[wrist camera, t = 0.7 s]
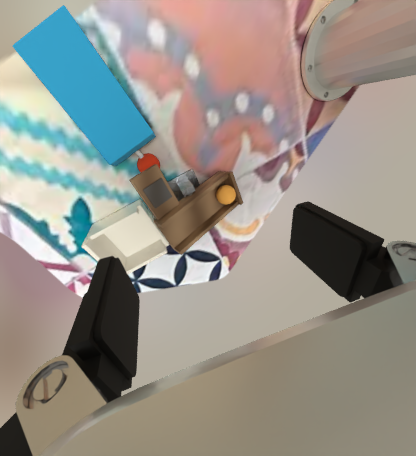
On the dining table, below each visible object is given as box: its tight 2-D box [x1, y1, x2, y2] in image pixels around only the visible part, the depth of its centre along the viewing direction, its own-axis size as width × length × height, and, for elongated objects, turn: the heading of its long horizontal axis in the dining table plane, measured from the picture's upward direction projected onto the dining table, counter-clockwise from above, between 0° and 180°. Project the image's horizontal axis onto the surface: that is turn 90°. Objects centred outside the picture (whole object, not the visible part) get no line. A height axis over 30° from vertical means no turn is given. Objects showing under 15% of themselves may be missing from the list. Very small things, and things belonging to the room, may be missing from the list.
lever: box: [13, 5, 160, 172], centre depth 26 cm, size 7×7×18 cm
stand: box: [167, 169, 214, 229], centre depth 33 cm, size 5×10×6 cm, turn 25°
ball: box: [216, 185, 236, 205], centre depth 31 cm, size 3×3×3 cm
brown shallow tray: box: [130, 164, 243, 255], centre depth 29 cm, size 14×12×5 cm
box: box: [82, 199, 169, 274], centre depth 32 cm, size 9×9×7 cm
